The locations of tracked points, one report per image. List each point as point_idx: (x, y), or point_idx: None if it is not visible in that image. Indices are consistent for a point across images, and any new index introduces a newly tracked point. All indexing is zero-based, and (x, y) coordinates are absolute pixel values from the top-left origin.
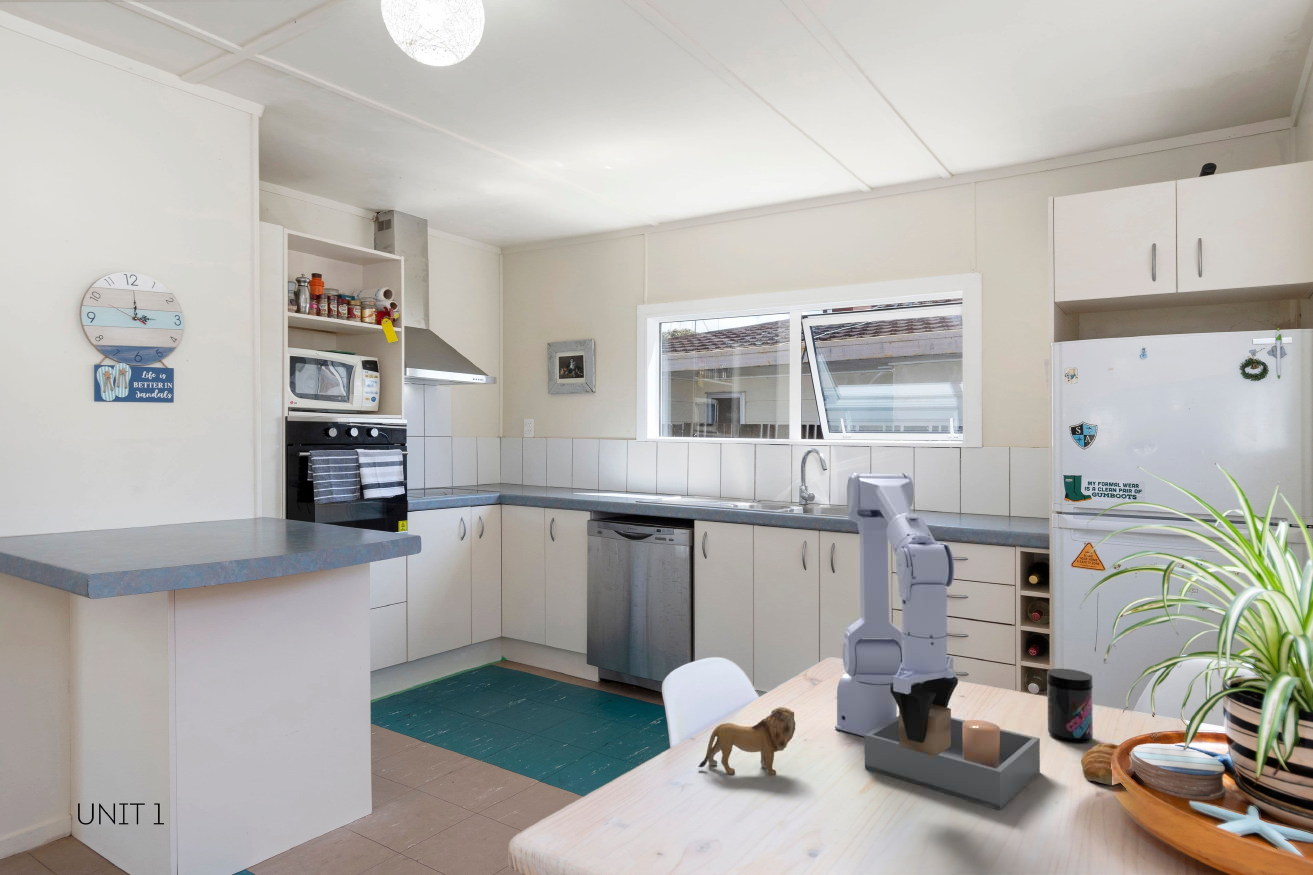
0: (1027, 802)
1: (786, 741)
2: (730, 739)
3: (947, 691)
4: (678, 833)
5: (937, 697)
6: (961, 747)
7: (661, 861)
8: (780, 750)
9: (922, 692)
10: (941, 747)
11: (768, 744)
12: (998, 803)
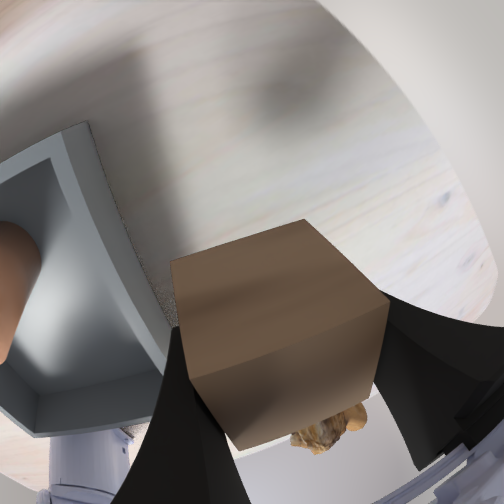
0: (8, 126)
1: None
2: (361, 409)
3: (210, 475)
4: (459, 287)
5: (217, 450)
6: None
7: (488, 255)
8: None
9: (495, 388)
10: (259, 242)
11: None
12: (85, 125)
